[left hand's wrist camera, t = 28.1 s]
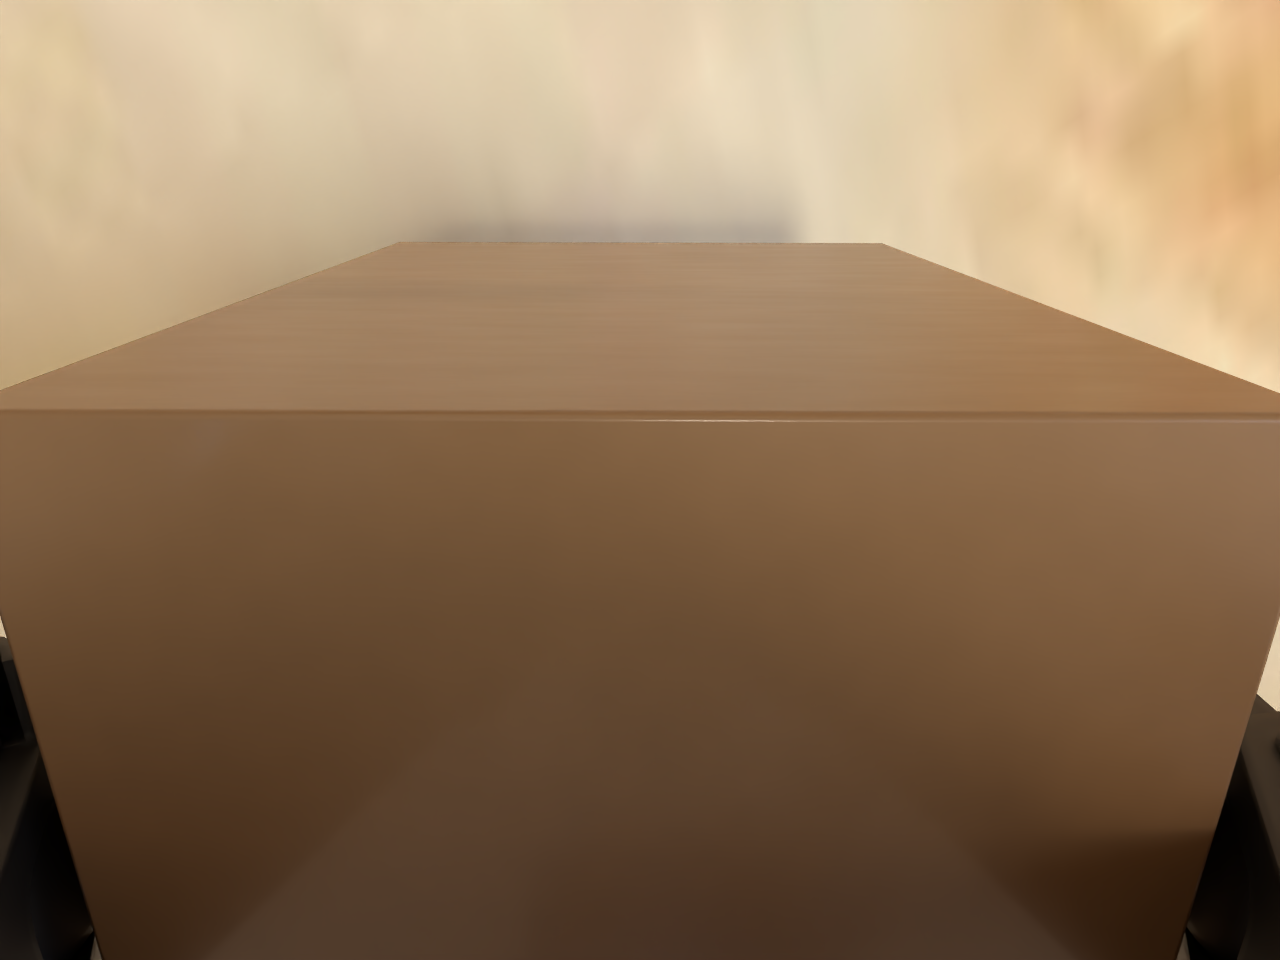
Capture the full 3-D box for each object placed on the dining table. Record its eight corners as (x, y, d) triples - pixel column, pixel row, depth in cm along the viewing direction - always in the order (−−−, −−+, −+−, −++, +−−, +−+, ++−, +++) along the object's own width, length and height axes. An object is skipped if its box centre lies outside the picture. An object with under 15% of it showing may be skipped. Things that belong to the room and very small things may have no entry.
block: (841, 668, 17) (1081, 1285, 8) (437, 668, 17) (194, 1283, 8) (884, 242, 14) (1345, 413, 5) (396, 241, 14) (-66, 412, 5)
